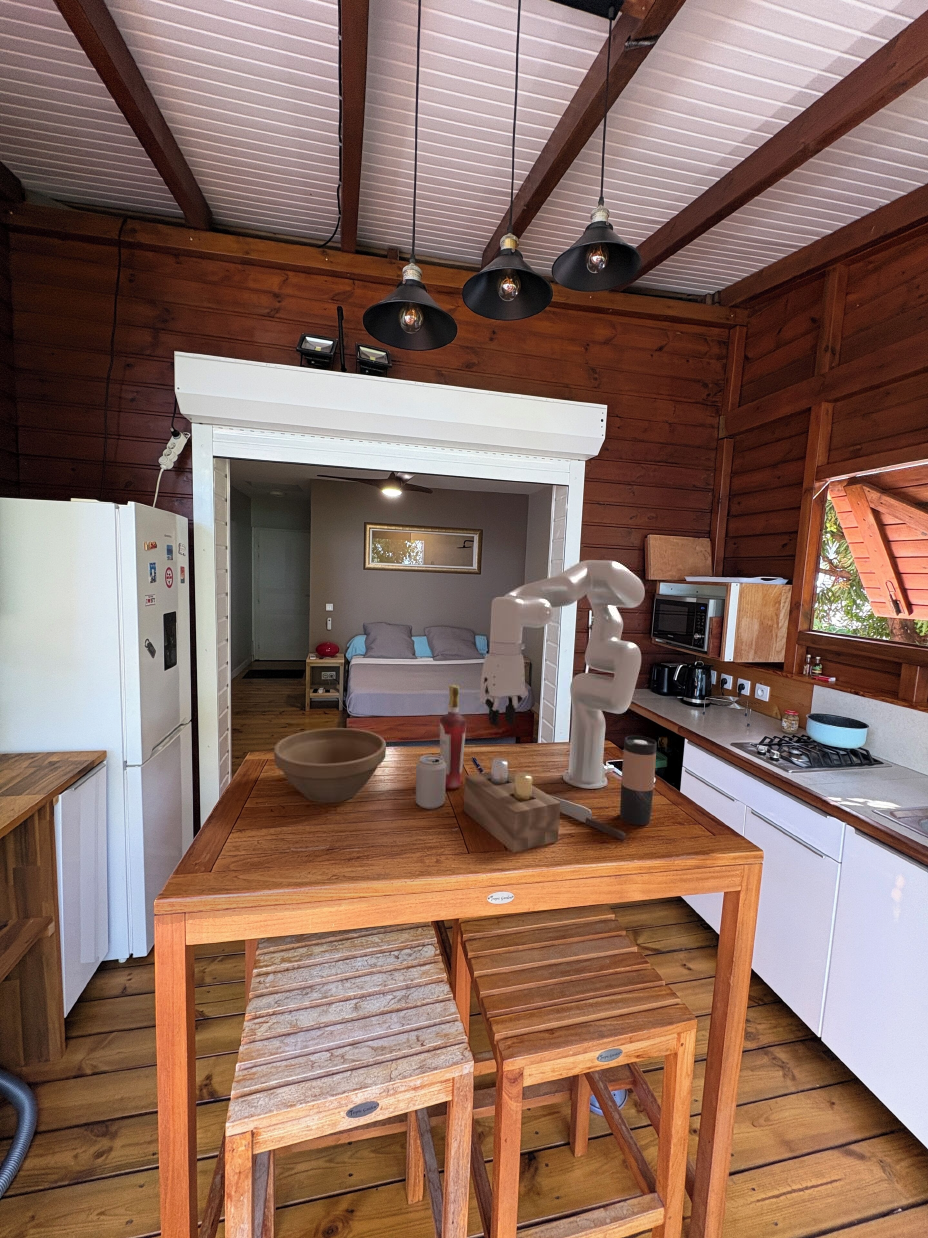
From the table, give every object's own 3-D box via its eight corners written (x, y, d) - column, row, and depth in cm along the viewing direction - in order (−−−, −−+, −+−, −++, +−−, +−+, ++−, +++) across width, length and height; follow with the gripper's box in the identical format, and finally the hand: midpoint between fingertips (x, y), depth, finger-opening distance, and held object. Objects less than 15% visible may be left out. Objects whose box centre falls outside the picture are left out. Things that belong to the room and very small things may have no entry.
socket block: (504, 802, 140) (505, 769, 139) (557, 841, 121) (560, 802, 120) (463, 810, 134) (465, 775, 133) (513, 853, 115) (515, 812, 114)
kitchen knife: (626, 825, 123) (526, 780, 145) (624, 826, 122) (523, 781, 144) (624, 842, 123) (525, 796, 145) (622, 844, 123) (522, 797, 144)
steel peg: (500, 790, 134) (502, 757, 133) (509, 796, 131) (511, 762, 130) (486, 793, 132) (488, 759, 131) (495, 799, 129) (497, 764, 128)
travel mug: (651, 815, 136) (656, 738, 134) (651, 828, 129) (657, 747, 127) (619, 809, 139) (625, 733, 137) (618, 822, 131) (623, 742, 130)
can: (440, 812, 133) (442, 764, 132) (411, 808, 134) (413, 761, 133) (447, 799, 140) (449, 755, 139) (420, 796, 142) (421, 751, 141)
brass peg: (523, 806, 125) (525, 771, 125) (534, 813, 122) (536, 777, 121) (509, 809, 123) (511, 773, 123) (519, 816, 120) (521, 779, 119)
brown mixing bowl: (320, 828, 122) (321, 772, 121) (250, 793, 139) (251, 743, 138) (406, 791, 145) (408, 743, 144) (337, 764, 162) (338, 721, 161)
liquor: (433, 782, 151) (437, 684, 149) (457, 779, 154) (462, 683, 151) (442, 792, 144) (446, 690, 142) (467, 789, 147) (472, 689, 145)
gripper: (524, 645, 135) (521, 717, 137) (467, 647, 127) (463, 723, 129) (543, 650, 129) (539, 725, 131) (483, 652, 121) (479, 732, 122)
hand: (501, 723), depth 130 cm, fingers open, 3 cm apart
